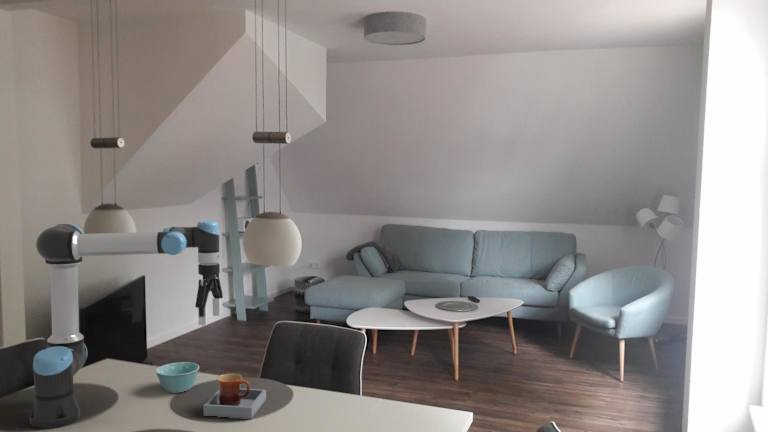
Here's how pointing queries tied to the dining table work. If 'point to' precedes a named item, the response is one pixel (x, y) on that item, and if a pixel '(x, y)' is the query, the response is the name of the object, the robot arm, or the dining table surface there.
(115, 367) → the dining table surface
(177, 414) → the dining table surface
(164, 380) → the bowl
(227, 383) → the mug
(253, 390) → the tray
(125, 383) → the dining table surface
